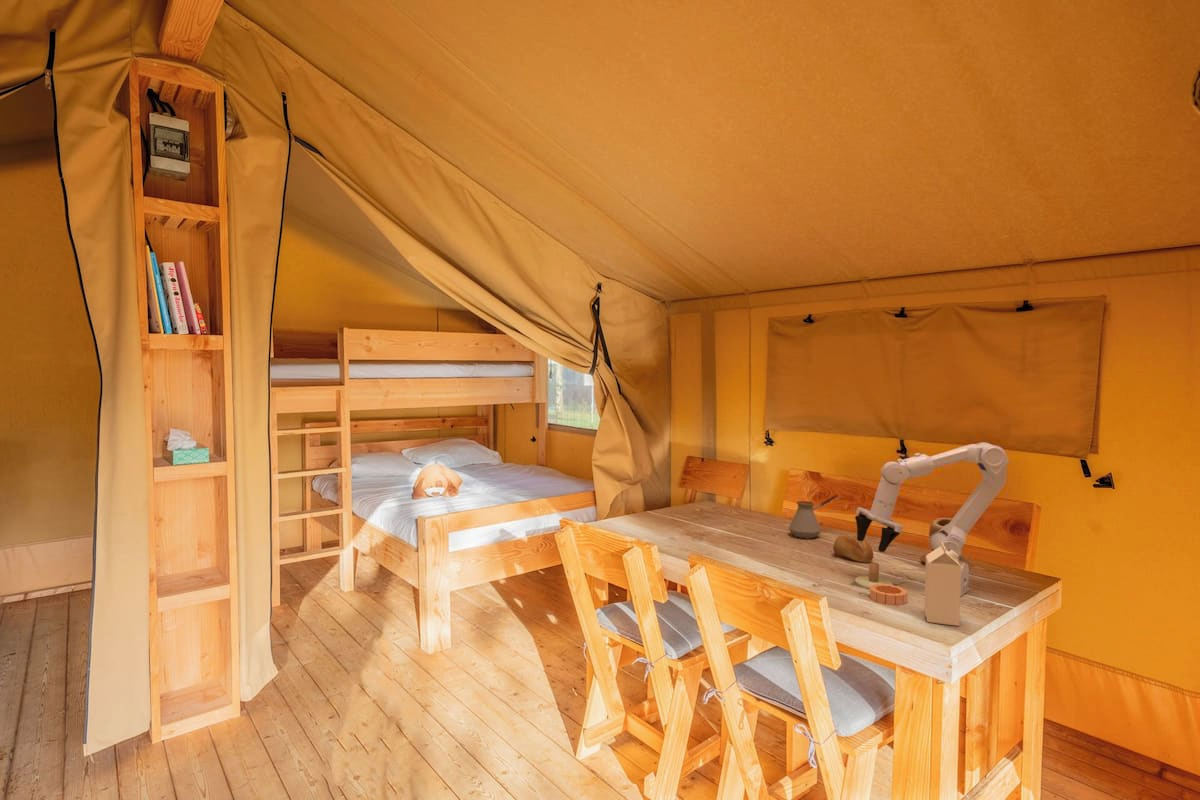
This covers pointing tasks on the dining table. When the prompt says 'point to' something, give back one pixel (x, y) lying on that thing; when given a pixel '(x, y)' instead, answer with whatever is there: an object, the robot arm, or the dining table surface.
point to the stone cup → (936, 527)
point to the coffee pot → (806, 520)
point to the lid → (872, 577)
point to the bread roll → (853, 548)
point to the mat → (866, 588)
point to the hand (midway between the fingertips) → (870, 545)
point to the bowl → (888, 594)
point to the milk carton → (942, 587)
